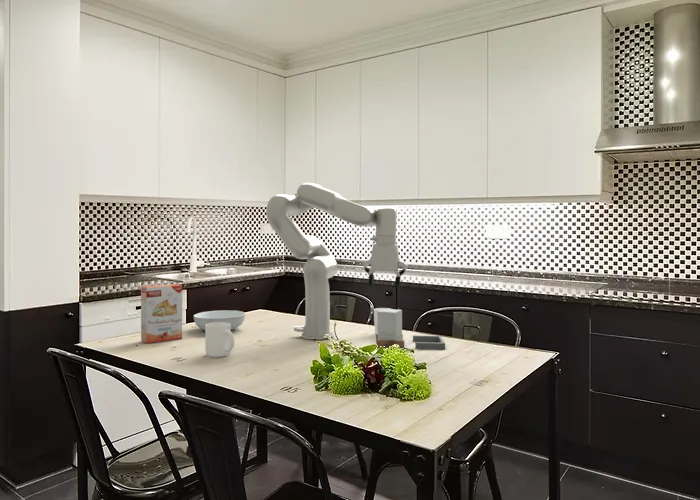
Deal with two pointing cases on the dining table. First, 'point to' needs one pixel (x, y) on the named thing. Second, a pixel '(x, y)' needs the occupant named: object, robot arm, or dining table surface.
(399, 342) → the walnut rails
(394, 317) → the supplement box
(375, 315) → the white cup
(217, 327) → the mug
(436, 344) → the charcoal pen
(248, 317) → the dining table surface
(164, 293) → the cracker box
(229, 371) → the dining table surface
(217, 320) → the serving bowl
